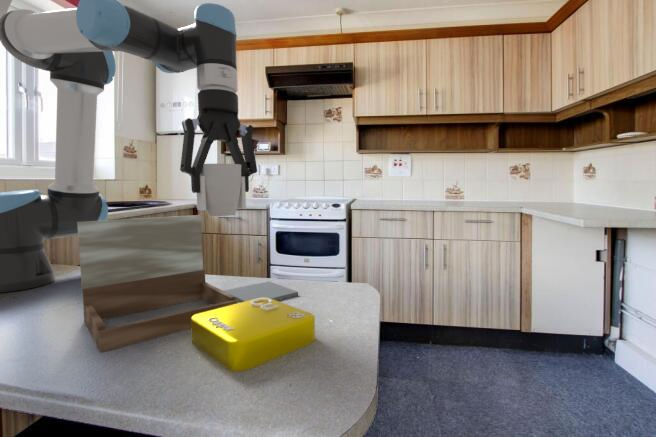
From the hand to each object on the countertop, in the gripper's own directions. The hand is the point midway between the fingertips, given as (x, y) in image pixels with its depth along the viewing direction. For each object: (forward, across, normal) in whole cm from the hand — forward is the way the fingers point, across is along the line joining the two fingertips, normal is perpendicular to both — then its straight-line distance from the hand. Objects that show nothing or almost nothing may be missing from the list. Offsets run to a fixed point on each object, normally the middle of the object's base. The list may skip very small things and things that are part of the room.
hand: (222, 208), depth 72 cm
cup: (+1, 0, 0) cm, 1 cm away
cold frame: (+20, -12, 0) cm, 23 cm away
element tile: (+20, -4, -19) cm, 28 cm away
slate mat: (+20, +9, +1) cm, 22 cm away
